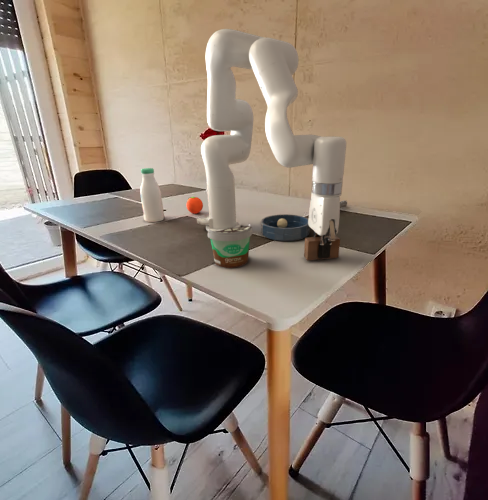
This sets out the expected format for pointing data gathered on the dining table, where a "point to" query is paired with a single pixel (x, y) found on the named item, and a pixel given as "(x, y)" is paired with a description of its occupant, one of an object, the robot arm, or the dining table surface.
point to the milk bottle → (151, 197)
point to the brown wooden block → (313, 247)
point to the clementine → (194, 205)
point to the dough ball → (282, 223)
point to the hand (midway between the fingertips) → (321, 254)
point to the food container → (230, 246)
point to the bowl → (292, 232)
